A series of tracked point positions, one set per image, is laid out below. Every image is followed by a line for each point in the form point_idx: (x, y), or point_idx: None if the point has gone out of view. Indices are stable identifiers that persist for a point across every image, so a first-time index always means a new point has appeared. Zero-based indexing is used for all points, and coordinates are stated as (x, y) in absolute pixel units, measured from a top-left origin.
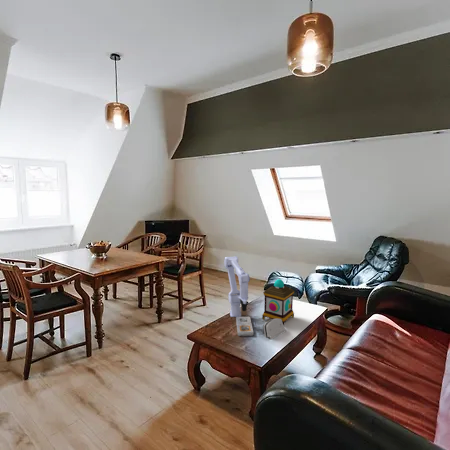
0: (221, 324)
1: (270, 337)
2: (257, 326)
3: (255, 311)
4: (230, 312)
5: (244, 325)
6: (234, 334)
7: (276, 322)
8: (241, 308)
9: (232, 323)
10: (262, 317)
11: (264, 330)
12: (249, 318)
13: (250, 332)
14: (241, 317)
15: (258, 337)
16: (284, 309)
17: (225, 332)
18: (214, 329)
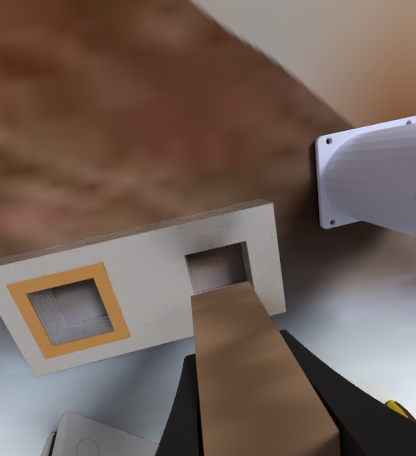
0: (155, 72)
1: (42, 452)
2: (188, 354)
3: (401, 309)
4: (389, 125)
5: (122, 299)
6: (12, 227)
7: None
8: (201, 368)
9: (197, 177)
10: None
11: (56, 451)
12: None
13: (28, 356)
14: (263, 251)
15: (40, 383)
16: None
17: (13, 142)
18: (28, 8)
